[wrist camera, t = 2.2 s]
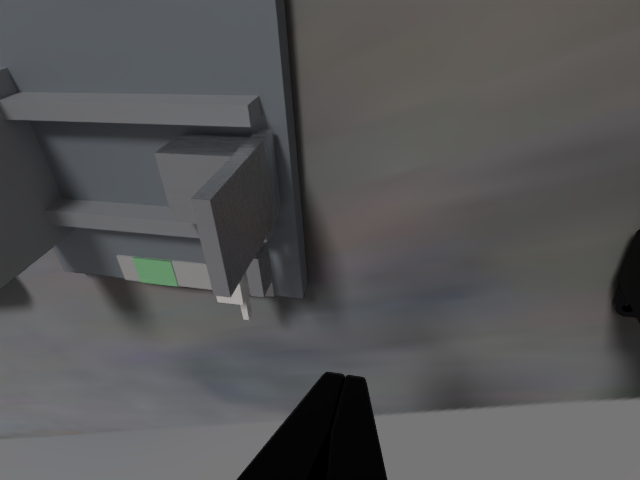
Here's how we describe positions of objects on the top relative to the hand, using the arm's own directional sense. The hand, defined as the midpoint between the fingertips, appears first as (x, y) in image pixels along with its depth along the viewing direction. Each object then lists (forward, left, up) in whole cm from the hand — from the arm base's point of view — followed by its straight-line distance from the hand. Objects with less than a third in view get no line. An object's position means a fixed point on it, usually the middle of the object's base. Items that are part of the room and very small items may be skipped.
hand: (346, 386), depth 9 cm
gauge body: (+11, 0, -11) cm, 16 cm away
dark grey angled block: (+7, +1, -10) cm, 12 cm away
